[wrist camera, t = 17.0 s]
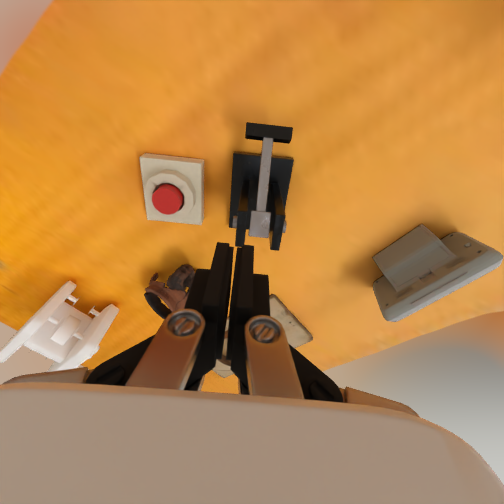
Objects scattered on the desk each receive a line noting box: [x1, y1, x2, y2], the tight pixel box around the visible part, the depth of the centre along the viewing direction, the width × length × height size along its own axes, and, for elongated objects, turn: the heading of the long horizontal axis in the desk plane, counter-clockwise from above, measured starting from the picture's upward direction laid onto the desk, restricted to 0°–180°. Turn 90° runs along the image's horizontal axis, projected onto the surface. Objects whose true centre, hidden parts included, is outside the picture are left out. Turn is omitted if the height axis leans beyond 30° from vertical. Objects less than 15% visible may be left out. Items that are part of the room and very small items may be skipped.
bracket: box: [229, 151, 294, 251], centre depth 33 cm, size 11×8×12 cm
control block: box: [139, 153, 204, 225], centre depth 36 cm, size 9×8×4 cm
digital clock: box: [372, 224, 503, 322], centre depth 39 cm, size 16×9×11 cm, turn 125°
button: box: [152, 184, 183, 215], centre depth 34 cm, size 4×4×2 cm
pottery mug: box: [144, 264, 195, 319], centre depth 45 cm, size 12×9×8 cm
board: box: [212, 294, 313, 378], centre depth 55 cm, size 25×15×3 cm, turn 127°
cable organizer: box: [0, 281, 119, 372], centre depth 47 cm, size 15×11×12 cm
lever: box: [245, 122, 293, 238], centre depth 29 cm, size 12×5×2 cm, turn 174°
